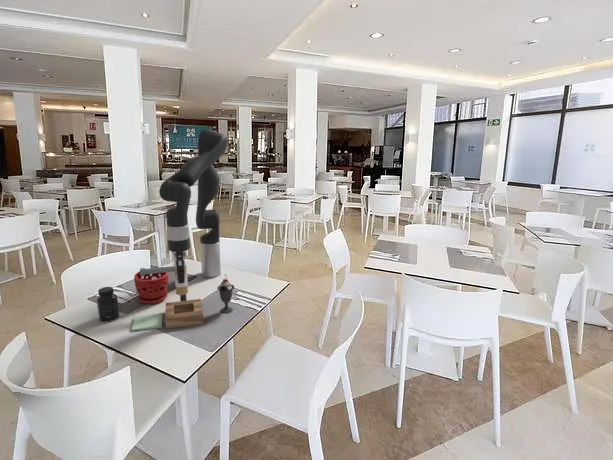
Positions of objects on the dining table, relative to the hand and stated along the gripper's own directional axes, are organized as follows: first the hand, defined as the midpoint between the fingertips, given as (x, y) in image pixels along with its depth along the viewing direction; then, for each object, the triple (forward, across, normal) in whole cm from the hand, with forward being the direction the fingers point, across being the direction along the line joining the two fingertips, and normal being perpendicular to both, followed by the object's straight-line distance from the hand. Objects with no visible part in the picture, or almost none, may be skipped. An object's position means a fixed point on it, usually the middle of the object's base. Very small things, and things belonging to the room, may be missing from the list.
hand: (181, 280), depth 134 cm
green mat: (+16, 0, +13) cm, 20 cm away
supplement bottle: (+16, +7, +27) cm, 32 cm away
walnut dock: (+16, +3, 0) cm, 16 cm away
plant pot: (+16, +20, +12) cm, 28 cm away
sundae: (+16, +1, -16) cm, 23 cm away
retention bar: (0, +10, +7) cm, 12 cm away
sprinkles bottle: (+6, 0, 0) cm, 6 cm away
